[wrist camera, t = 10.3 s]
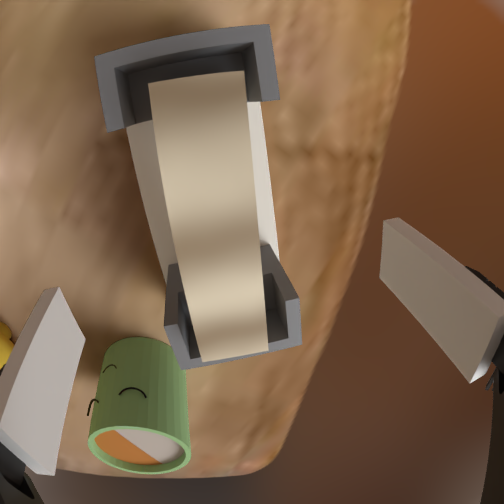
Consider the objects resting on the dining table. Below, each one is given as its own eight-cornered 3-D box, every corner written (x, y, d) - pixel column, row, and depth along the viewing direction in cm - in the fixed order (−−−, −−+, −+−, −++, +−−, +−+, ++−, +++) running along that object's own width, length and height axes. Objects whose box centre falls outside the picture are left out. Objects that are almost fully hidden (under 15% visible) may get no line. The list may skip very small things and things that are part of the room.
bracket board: (118, 69, 22) (80, 52, 13) (249, 44, 23) (281, 15, 14) (174, 304, 32) (173, 375, 23) (279, 282, 33) (311, 346, 25)
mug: (153, 322, 33) (146, 412, 22) (200, 379, 38) (210, 462, 27) (71, 358, 33) (48, 438, 23) (121, 406, 38) (115, 481, 27)
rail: (159, 89, 18) (148, 83, 13) (229, 79, 19) (243, 70, 14) (197, 310, 26) (202, 362, 21) (252, 301, 26) (268, 350, 21)
